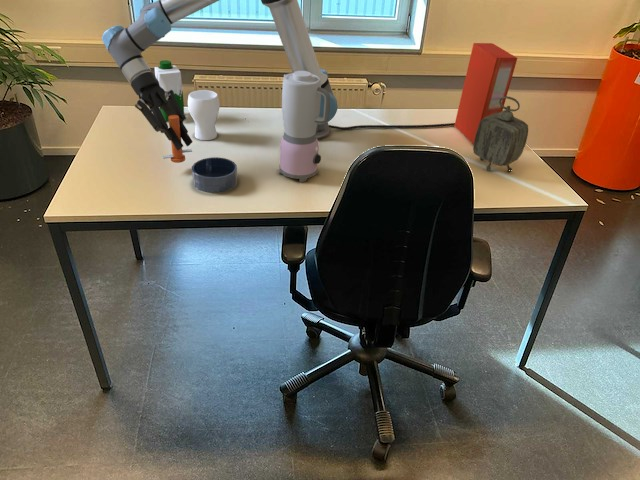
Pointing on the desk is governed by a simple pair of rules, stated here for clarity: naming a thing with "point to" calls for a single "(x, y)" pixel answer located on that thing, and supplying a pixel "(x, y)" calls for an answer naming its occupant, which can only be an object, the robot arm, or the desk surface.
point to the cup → (204, 113)
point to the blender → (301, 124)
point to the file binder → (484, 86)
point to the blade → (175, 125)
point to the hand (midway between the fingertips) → (185, 146)
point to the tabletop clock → (501, 137)
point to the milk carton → (170, 82)
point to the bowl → (214, 175)
